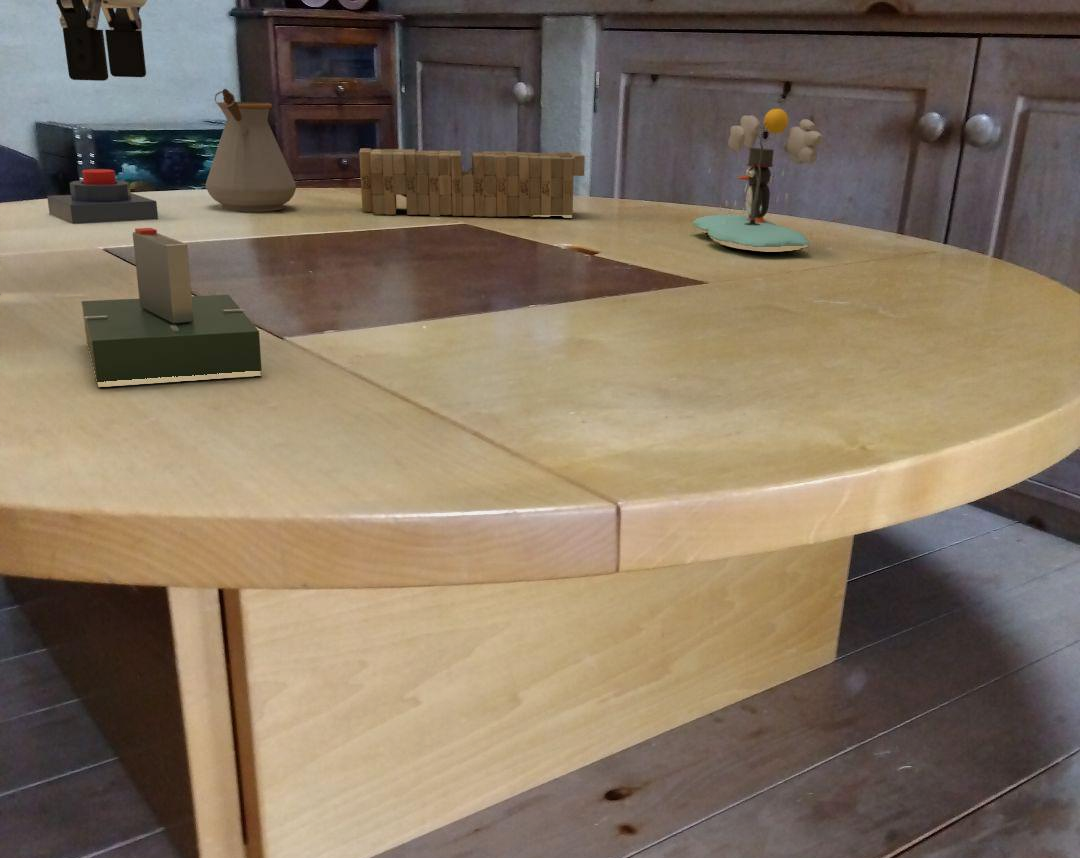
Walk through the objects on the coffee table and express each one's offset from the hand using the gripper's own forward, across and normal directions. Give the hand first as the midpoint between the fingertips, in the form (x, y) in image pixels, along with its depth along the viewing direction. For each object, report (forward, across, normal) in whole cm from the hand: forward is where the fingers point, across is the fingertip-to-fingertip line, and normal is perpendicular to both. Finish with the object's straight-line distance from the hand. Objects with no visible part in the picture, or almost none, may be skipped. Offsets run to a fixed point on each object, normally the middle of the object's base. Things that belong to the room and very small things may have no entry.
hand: (109, 78), depth 101 cm
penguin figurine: (+18, +28, -64) cm, 71 cm away
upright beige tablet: (+13, -34, -15) cm, 40 cm away
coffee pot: (+17, +38, -1) cm, 42 cm away
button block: (+17, +30, +14) cm, 37 cm away
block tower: (+18, +46, -29) cm, 58 cm away
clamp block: (+16, -34, -14) cm, 41 cm away
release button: (+13, +30, +14) cm, 36 cm away
